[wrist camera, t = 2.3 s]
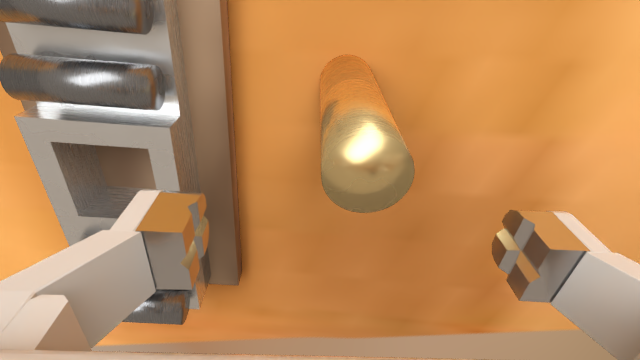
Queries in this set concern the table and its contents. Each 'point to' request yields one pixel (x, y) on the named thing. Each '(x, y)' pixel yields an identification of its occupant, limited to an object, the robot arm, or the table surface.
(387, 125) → the pin
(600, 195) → the table surface
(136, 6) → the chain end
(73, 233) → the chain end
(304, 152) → the table surface
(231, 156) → the chain base
